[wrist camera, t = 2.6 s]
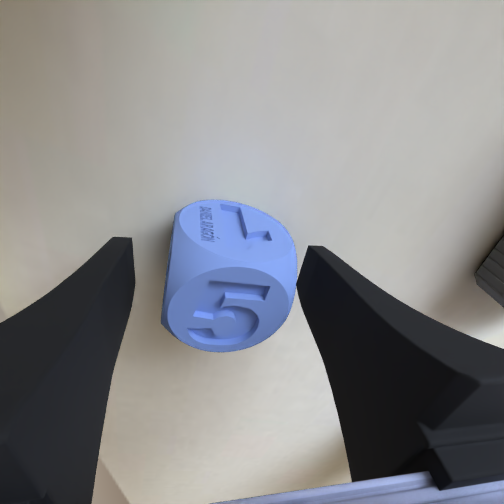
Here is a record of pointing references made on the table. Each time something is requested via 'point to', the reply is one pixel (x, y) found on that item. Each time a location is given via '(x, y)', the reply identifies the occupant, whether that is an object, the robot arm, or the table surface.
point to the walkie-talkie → (493, 274)
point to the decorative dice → (227, 276)
